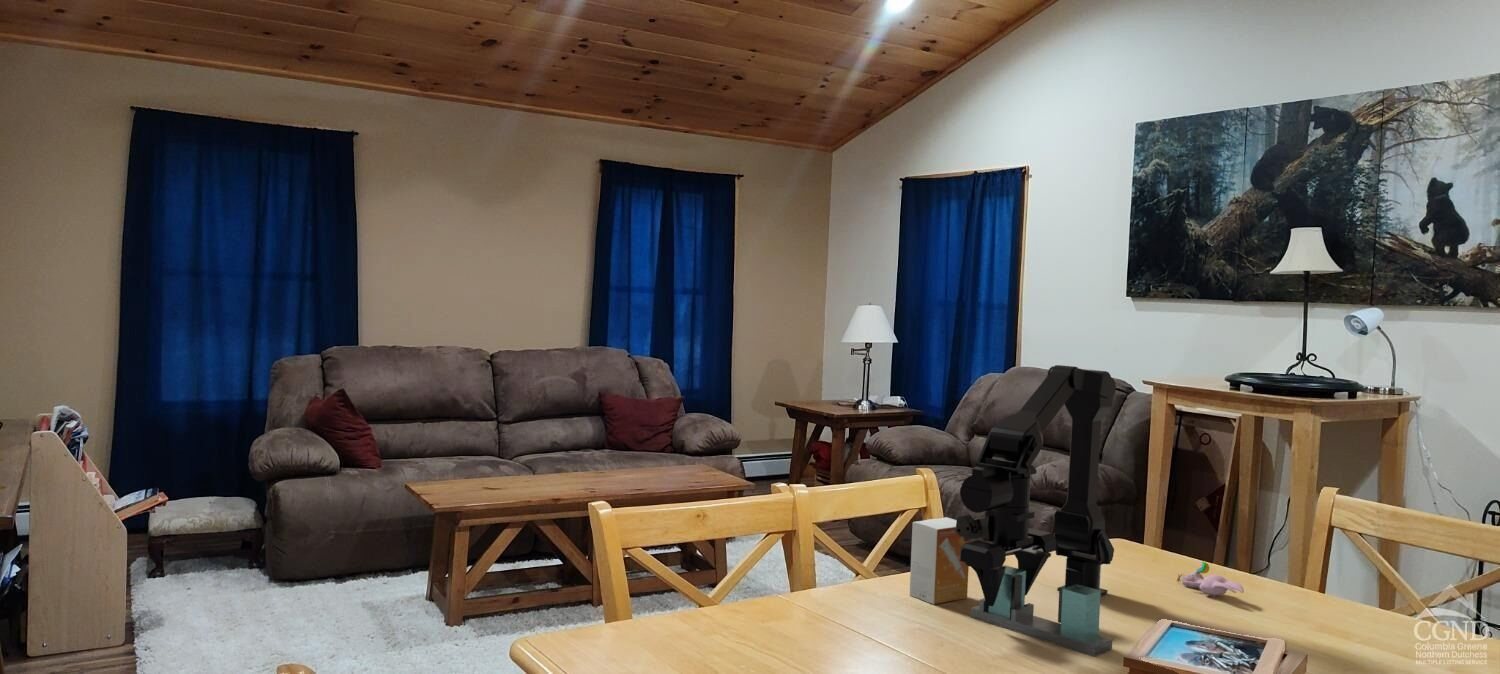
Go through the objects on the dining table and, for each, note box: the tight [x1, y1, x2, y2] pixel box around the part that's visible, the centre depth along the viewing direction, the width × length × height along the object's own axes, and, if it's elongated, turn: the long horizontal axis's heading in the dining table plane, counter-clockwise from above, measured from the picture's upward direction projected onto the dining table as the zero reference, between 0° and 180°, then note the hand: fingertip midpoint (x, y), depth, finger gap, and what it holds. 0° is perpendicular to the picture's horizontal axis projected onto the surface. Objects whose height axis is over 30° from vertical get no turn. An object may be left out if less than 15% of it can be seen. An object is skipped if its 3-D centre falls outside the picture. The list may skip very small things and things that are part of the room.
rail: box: [970, 584, 1113, 657], centre depth 159 cm, size 5×22×8 cm, turn 42°
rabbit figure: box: [1176, 561, 1245, 598], centre depth 183 cm, size 6×6×15 cm
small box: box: [909, 516, 971, 605], centre depth 176 cm, size 8×6×13 cm
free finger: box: [989, 564, 1026, 619], centre depth 164 cm, size 4×5×7 cm
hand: (1006, 600), depth 164 cm, fingers open, 9 cm apart
